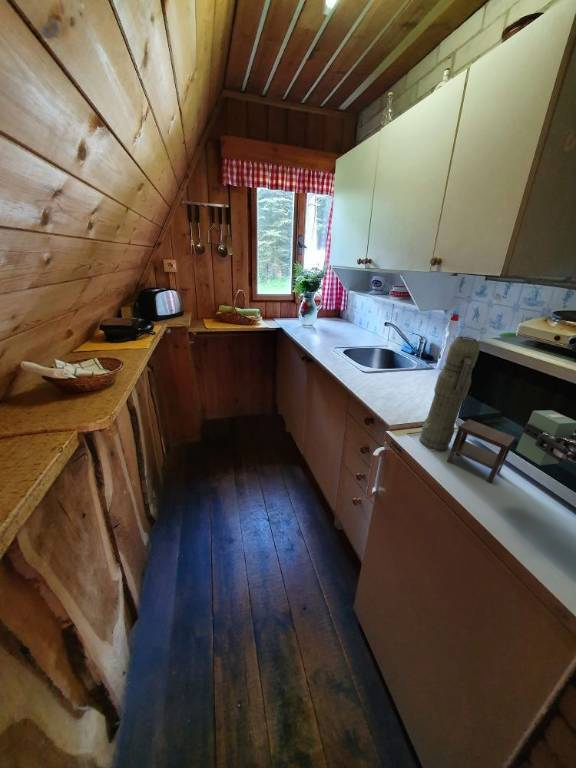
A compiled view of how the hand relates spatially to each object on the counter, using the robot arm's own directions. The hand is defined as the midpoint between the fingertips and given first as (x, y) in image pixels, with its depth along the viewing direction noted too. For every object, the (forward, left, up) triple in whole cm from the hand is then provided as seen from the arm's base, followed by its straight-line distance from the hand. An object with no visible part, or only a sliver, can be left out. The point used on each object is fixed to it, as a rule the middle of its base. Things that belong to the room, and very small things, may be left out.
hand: (536, 427), depth 67 cm
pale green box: (-2, +1, -6) cm, 7 cm away
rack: (+10, -12, -22) cm, 27 cm away
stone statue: (+23, -15, -22) cm, 35 cm away
